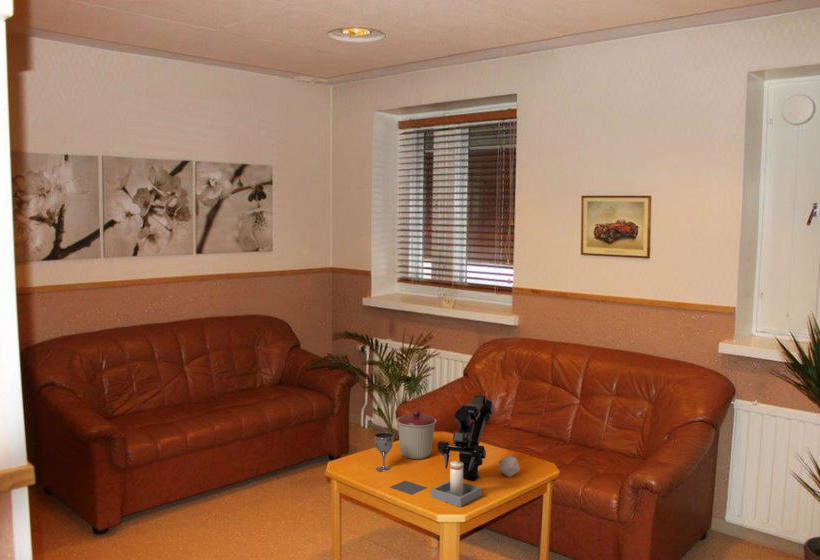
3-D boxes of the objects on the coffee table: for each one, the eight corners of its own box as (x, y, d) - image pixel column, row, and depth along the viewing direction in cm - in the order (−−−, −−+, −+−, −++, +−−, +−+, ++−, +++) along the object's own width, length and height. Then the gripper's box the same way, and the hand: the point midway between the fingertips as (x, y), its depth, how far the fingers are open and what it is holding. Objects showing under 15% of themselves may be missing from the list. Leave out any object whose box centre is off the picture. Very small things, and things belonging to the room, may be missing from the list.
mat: (404, 481, 300) (404, 480, 300) (427, 488, 292) (427, 487, 292) (388, 487, 292) (388, 487, 292) (412, 495, 285) (412, 494, 285)
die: (523, 478, 307) (521, 455, 312) (513, 472, 301) (512, 450, 306) (506, 481, 311) (505, 459, 316) (496, 476, 305) (495, 453, 310)
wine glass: (389, 473, 309) (389, 438, 308) (371, 471, 311) (372, 436, 310) (395, 467, 316) (396, 433, 315) (378, 465, 319) (378, 431, 318)
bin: (452, 487, 293) (452, 479, 293) (481, 496, 284) (481, 487, 284) (430, 497, 282) (431, 489, 282) (460, 507, 274) (460, 498, 273)
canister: (387, 454, 333) (388, 409, 331) (417, 446, 345) (417, 402, 343) (414, 465, 319) (415, 417, 318) (444, 456, 332) (444, 410, 330)
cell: (448, 493, 286) (449, 459, 284) (461, 493, 286) (462, 459, 285) (451, 498, 281) (451, 463, 279) (464, 497, 281) (464, 463, 280)
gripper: (438, 421, 290) (430, 457, 280) (484, 426, 284) (477, 462, 274) (443, 434, 298) (435, 470, 288) (488, 439, 292) (482, 476, 282)
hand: (457, 469), depth 283 cm, fingers open, 9 cm apart
